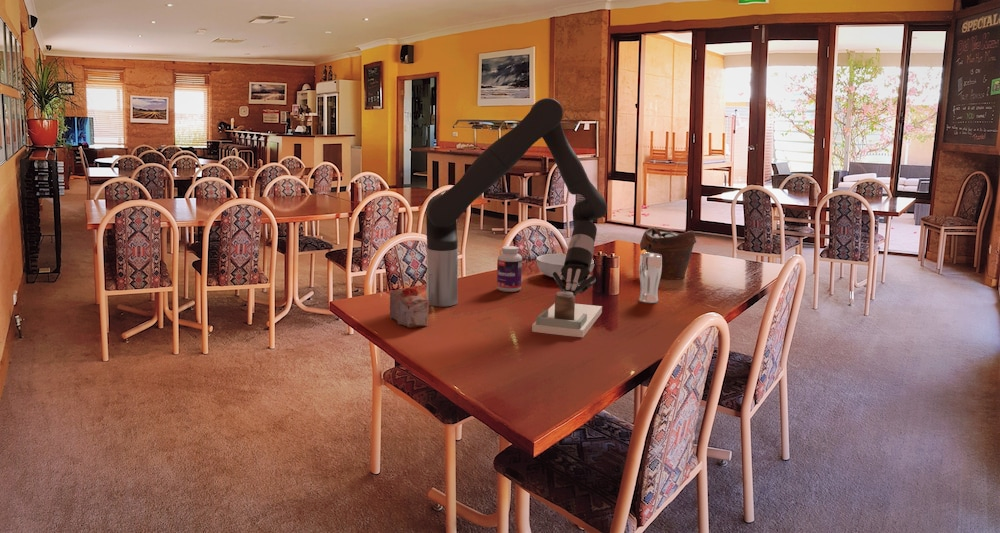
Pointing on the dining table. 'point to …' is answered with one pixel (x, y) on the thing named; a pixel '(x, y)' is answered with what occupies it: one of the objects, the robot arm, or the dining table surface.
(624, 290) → the dining table surface
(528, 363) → the dining table surface
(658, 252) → the brown bucket
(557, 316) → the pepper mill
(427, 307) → the grey stone block
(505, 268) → the pill bottle
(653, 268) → the beer glass
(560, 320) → the board
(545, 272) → the serving bowl
